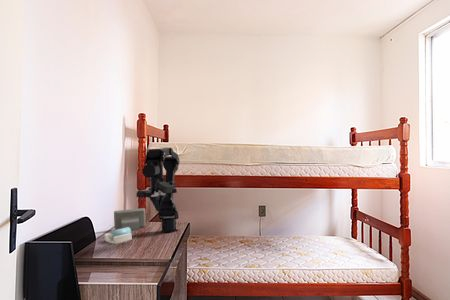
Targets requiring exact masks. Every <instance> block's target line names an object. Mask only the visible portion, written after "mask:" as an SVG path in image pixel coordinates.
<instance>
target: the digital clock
mask: <svg viewBox="0 0 450 300" xmlns="http://www.w3.org/2000/svg"><path fill="white" fill-rule="evenodd" d="M113 220H114V230H117V229H122V228H126V227H129V228H130V229H131V231H137V230H140V228H143V227H145V226H146V208H144V207H143V208H131V209H118V210H115V211H113Z"/></svg>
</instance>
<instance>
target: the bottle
mask: <svg viewBox="0 0 450 300" xmlns="http://www.w3.org/2000/svg"><path fill="white" fill-rule="evenodd" d="M109 233H110V234H109V235H108V237H109V239H110V238H111V240H112V241H113V237H116V236H120V235H124V234H129V233H131V234H132V230H131V229H130V228H129V227H126V228H122V229H117V230H116V229H113V230H111V231H110V232H109Z"/></svg>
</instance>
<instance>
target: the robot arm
mask: <svg viewBox="0 0 450 300" xmlns="http://www.w3.org/2000/svg"><path fill="white" fill-rule="evenodd" d="M179 165H180V158H179V154H178V153H176V152H175V151H174V149H173V147H163V148H149V149H148V150H147V152H146V153H145V158H144V166H143V167H142V170H141V173H142V175H143V176H144V177H145V178H148V182H150V187H149V188H148V189H141V190H137V191H136V198H144V199H145V198H148V199H149V200H150V201H151V203H152V204H153V206H154V208H155V211H156V212H158V217H159V218H158V219H159V221H161V222H162V223H161V230H160V232H161V233H162V232H163V233H167V234H170V233H174V232H177V231H179V229H178V228H177V222H176V221H177V219H180V218H179V212H178V209H177V204H176V203H175V201H174V194H177V193H178V192H177V191H178V190H177V188H176V181H175V176H176V175H175V174H176V173H177V171H179ZM164 170H165V177H164Z"/></svg>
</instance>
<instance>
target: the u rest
mask: <svg viewBox="0 0 450 300" xmlns="http://www.w3.org/2000/svg"><path fill="white" fill-rule="evenodd" d="M109 234H110V232H108V233H104V234H103V235H104V236H103V237H104V242H106V243H109V244H113V245H119V244H123V243H127V242H131V241H132V240H133V239H132V236H133V235H132V232H131V233H129V234H124V235H120V236H116V237H113V241H112V240H111V238H110V239H109V237H108V235H109Z"/></svg>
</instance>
